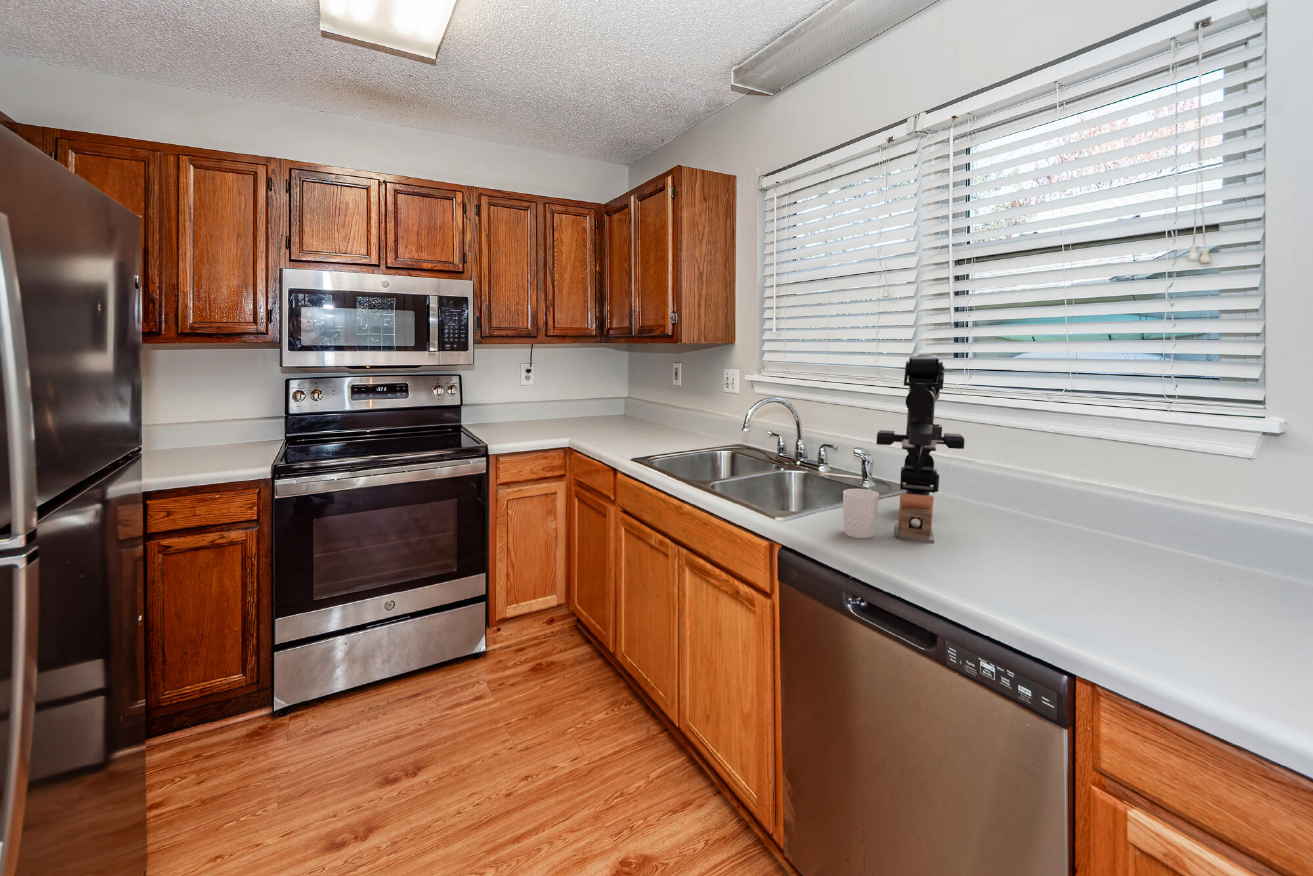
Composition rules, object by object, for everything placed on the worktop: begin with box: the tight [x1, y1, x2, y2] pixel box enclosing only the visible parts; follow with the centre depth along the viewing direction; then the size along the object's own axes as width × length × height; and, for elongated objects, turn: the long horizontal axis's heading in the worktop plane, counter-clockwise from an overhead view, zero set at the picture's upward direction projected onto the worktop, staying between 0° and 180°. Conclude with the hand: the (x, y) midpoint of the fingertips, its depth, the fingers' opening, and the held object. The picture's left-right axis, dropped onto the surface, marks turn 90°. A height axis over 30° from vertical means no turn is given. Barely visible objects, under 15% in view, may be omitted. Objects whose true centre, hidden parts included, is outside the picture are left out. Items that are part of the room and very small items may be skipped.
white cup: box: [842, 488, 880, 539], centre depth 135 cm, size 8×8×10 cm
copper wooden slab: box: [898, 492, 934, 533], centre depth 133 cm, size 5×7×9 cm
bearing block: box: [895, 507, 935, 544], centre depth 135 cm, size 10×8×7 cm
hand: (916, 474), depth 139 cm, fingers closed
